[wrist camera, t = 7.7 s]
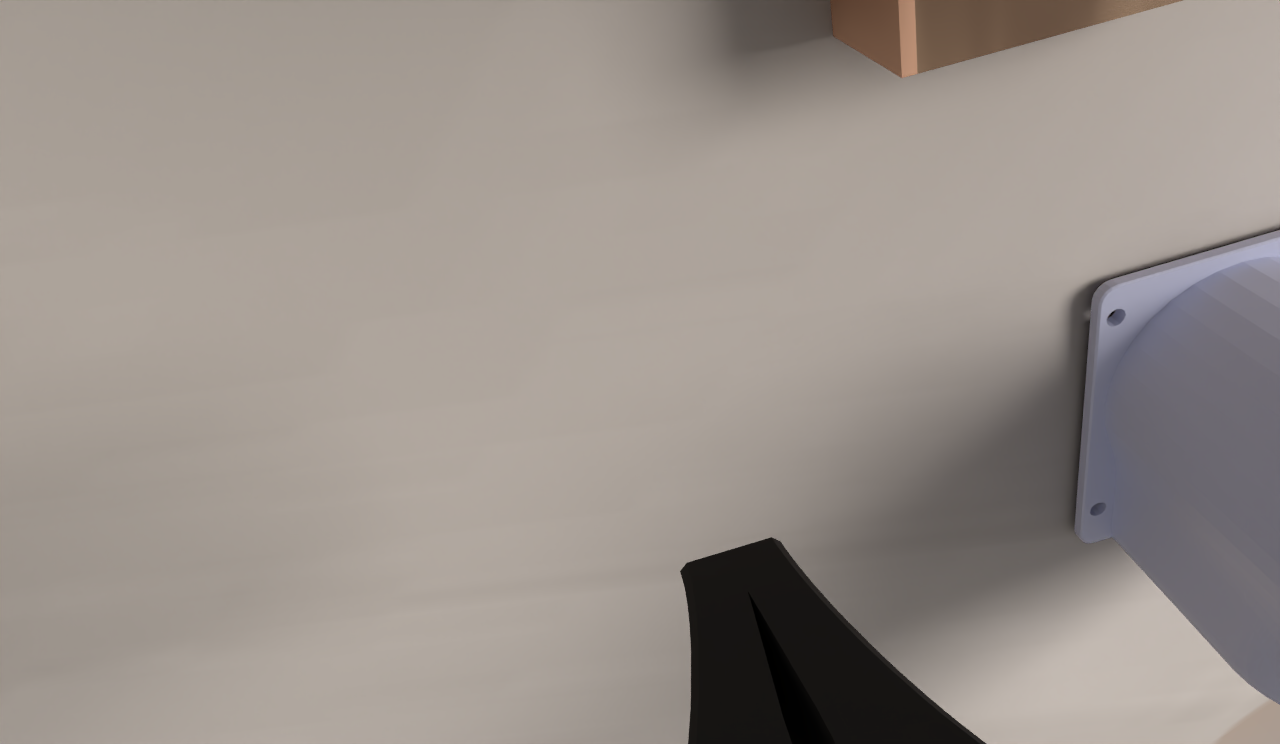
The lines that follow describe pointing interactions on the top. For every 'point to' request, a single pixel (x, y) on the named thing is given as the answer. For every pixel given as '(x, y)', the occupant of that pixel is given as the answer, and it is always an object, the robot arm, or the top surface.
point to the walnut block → (962, 26)
